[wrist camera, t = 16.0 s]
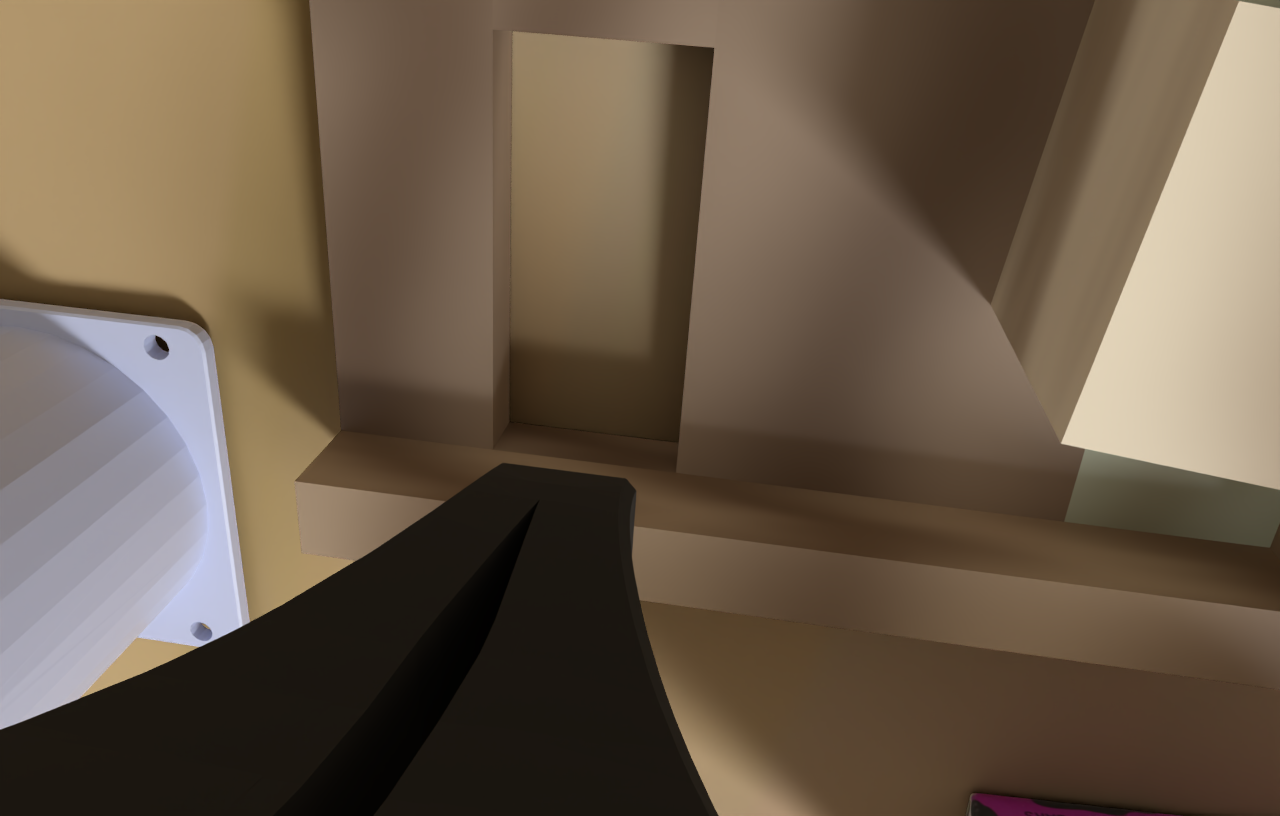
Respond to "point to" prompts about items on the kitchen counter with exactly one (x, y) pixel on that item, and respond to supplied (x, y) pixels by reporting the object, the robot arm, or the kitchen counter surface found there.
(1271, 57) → the block
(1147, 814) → the candy bar box
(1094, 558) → the board
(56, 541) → the robot arm
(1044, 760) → the kitchen counter surface
